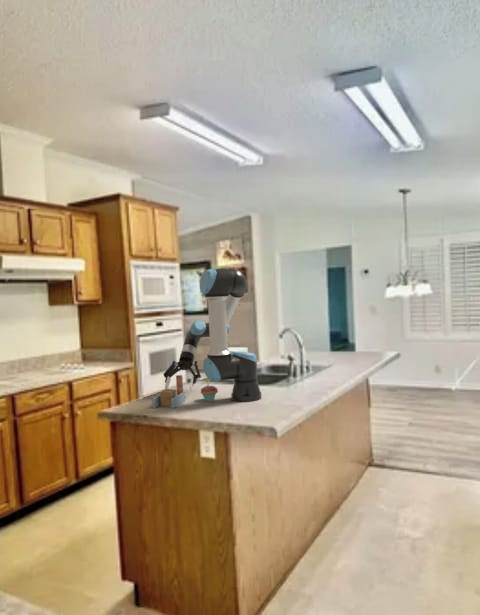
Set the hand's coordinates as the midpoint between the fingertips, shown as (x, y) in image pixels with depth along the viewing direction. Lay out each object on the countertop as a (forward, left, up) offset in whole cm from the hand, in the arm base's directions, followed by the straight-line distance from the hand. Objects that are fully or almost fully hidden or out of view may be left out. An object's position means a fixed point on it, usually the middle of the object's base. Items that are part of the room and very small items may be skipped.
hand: (178, 388), depth 250 cm
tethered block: (-3, +5, -5) cm, 8 cm away
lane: (-7, +11, -5) cm, 14 cm away
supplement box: (+16, -55, -6) cm, 58 cm away
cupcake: (-16, -7, -5) cm, 18 cm away
